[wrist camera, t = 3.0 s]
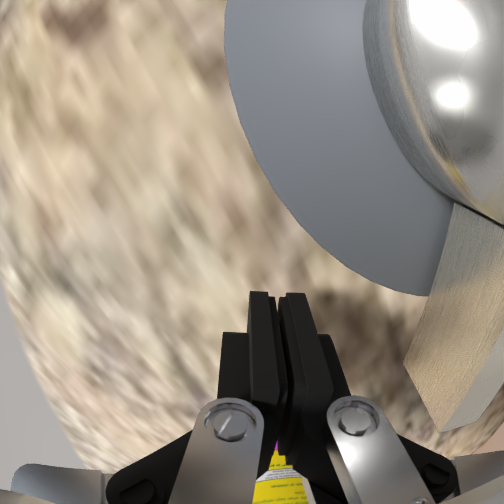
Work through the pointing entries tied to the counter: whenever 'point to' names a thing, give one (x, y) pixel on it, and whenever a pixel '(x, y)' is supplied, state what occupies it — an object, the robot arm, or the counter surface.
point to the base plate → (332, 139)
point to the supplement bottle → (279, 484)
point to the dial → (451, 183)
